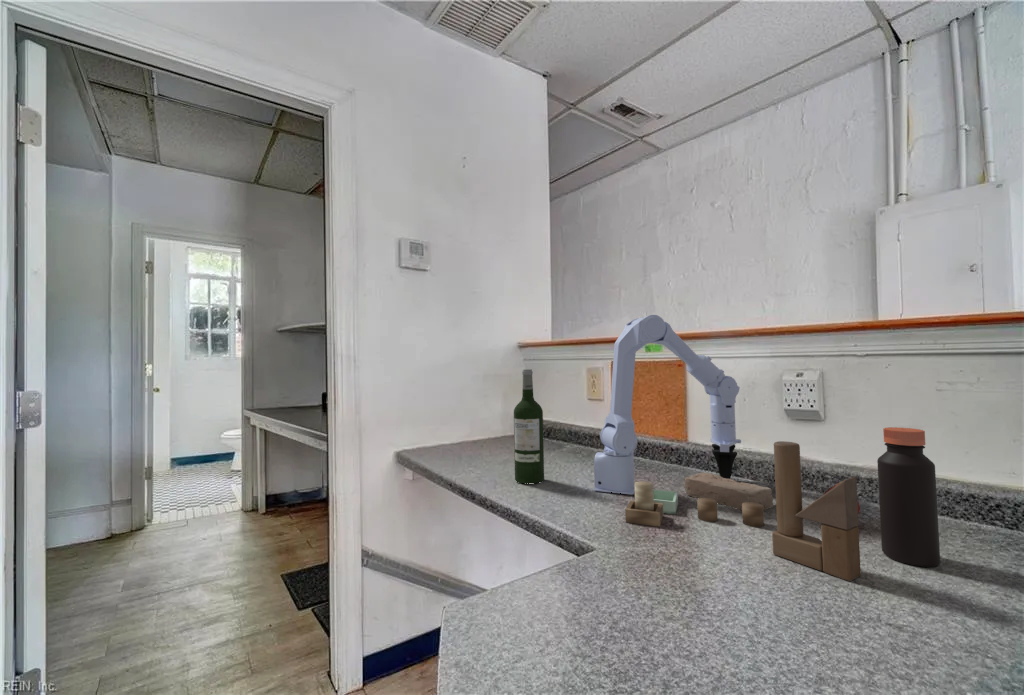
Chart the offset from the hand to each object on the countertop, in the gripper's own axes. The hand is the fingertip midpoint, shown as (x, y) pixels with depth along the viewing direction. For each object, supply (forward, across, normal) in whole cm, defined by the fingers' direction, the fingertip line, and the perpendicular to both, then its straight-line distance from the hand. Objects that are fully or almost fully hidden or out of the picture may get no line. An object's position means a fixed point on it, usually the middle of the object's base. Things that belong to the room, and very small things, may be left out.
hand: (724, 475), depth 113 cm
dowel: (+2, -34, +16) cm, 37 cm away
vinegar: (+2, -37, -25) cm, 45 cm away
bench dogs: (+2, -29, 0) cm, 29 cm away
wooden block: (+2, -45, -11) cm, 46 cm away
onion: (+2, -24, -19) cm, 31 cm away
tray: (+2, -25, +13) cm, 28 cm away
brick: (+2, -15, 0) cm, 15 cm away
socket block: (+2, -34, +16) cm, 37 cm away
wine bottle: (+2, -15, +48) cm, 50 cm away
